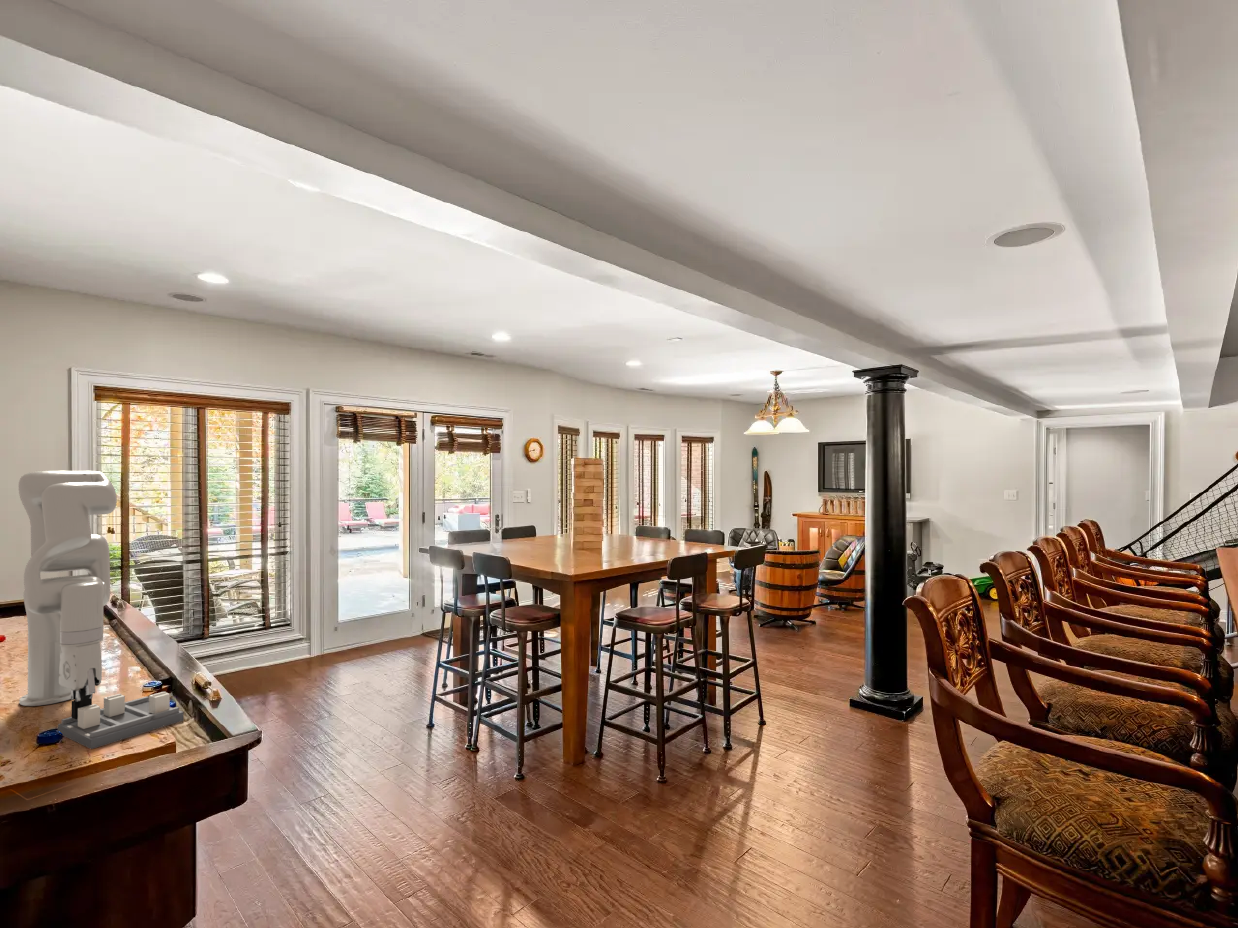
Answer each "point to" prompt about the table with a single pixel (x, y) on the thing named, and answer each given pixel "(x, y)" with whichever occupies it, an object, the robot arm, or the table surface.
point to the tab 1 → (88, 716)
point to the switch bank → (120, 724)
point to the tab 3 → (159, 702)
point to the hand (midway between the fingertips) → (81, 716)
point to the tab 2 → (114, 705)
